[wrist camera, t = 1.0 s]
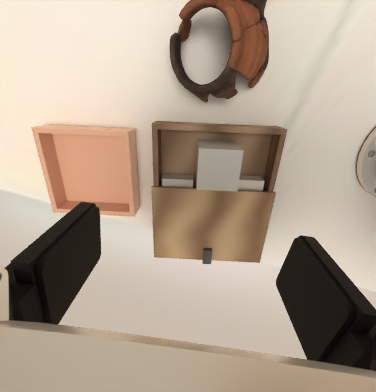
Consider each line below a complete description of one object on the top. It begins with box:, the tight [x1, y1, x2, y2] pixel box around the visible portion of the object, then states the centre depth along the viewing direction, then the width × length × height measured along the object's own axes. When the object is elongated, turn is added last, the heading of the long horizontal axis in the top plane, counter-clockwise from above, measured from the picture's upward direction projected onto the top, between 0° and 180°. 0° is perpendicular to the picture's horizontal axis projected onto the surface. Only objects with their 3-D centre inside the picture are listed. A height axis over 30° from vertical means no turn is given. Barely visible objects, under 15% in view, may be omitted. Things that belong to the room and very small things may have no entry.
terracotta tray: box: [32, 125, 140, 216], centre depth 28 cm, size 11×11×3 cm
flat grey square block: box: [162, 173, 193, 188], centre depth 28 cm, size 4×4×2 cm
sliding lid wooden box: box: [152, 121, 287, 264], centre depth 28 cm, size 16×19×4 cm
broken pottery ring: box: [170, 0, 269, 102], centre depth 20 cm, size 12×10×8 cm
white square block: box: [238, 175, 265, 191], centre depth 28 cm, size 4×4×2 cm
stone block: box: [196, 139, 244, 192], centre depth 25 cm, size 4×4×6 cm
